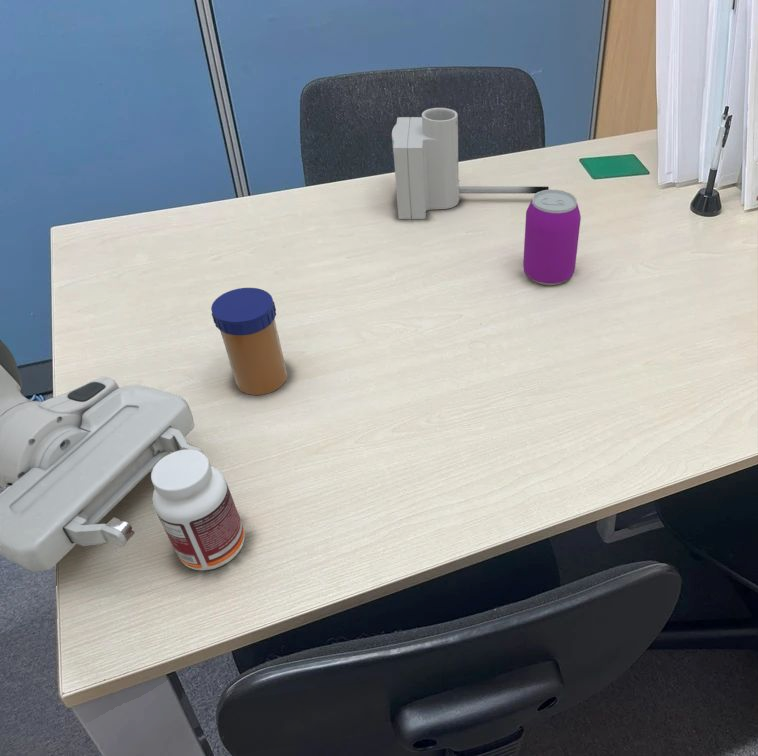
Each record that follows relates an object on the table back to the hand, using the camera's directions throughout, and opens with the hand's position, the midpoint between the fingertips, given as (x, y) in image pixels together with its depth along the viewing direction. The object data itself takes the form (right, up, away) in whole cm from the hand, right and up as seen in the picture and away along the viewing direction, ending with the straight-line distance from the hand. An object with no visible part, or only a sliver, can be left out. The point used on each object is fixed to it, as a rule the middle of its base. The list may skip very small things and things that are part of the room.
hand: (165, 496), depth 64 cm
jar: (+2, +11, +21) cm, 24 cm away
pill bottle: (+3, -5, +3) cm, 7 cm away
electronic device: (+26, +41, +57) cm, 74 cm away
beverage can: (+38, +26, +41) cm, 61 cm away
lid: (+2, +19, +14) cm, 23 cm away
